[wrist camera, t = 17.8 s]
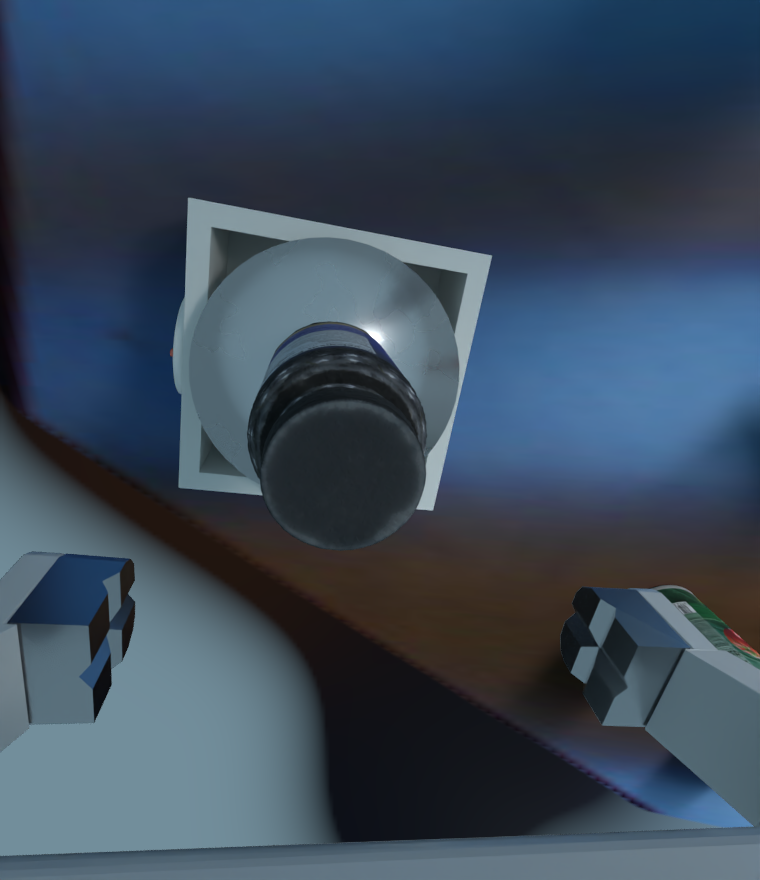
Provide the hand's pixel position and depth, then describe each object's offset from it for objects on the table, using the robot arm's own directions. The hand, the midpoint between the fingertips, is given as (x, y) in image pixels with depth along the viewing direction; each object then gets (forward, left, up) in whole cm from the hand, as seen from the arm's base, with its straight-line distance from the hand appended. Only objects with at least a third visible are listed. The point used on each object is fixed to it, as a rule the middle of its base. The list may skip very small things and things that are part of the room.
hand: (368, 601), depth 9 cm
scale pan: (0, 0, -20) cm, 20 cm away
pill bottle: (0, 0, -16) cm, 16 cm away
